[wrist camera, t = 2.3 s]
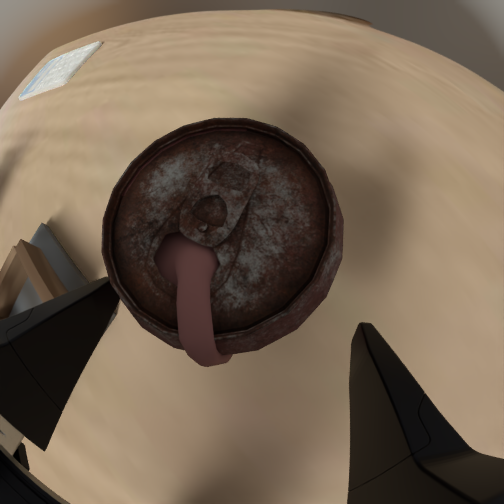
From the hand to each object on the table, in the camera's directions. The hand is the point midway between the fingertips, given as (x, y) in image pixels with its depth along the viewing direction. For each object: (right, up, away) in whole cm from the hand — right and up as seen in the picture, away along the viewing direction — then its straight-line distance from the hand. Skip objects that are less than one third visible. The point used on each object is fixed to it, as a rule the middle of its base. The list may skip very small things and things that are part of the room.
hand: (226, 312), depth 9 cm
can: (+1, -1, +10) cm, 10 cm away
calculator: (-40, +40, +27) cm, 63 cm away
